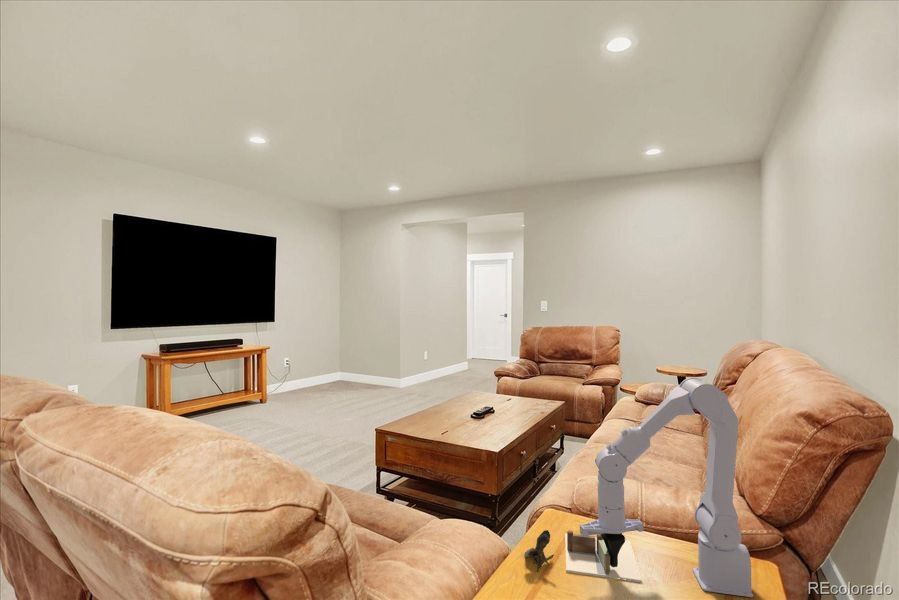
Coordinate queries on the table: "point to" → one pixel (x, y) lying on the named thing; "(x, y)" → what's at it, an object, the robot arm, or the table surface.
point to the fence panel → (604, 556)
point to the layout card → (594, 567)
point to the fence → (582, 543)
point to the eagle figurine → (540, 550)
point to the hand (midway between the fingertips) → (612, 564)
